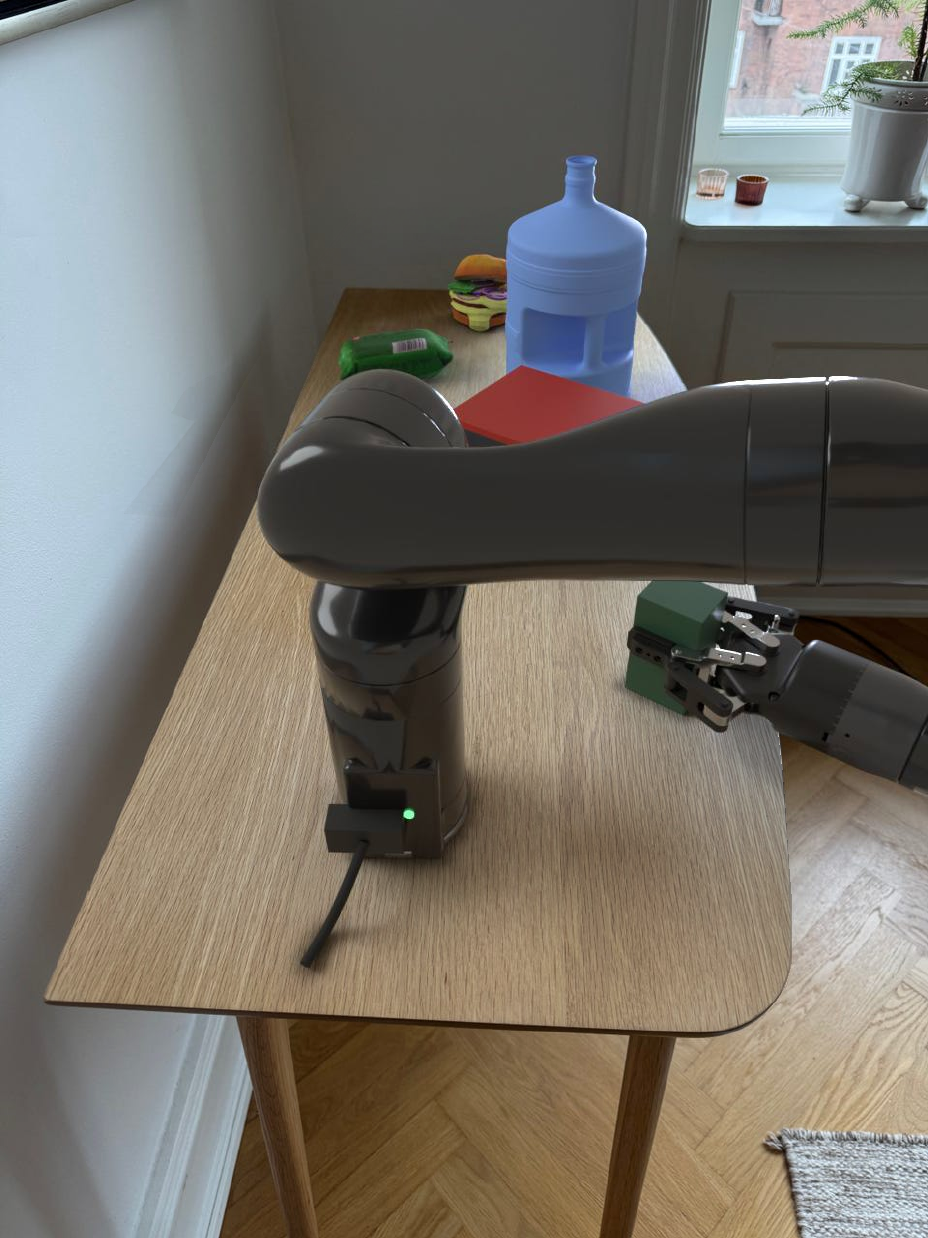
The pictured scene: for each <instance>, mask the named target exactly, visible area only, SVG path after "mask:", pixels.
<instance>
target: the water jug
mask: <svg viewBox="0 0 928 1238" xmlns="http://www.w3.org/2000/svg"><path fill="white" fill-rule="evenodd" d="M565 164H566V166H567V167H566V169H567V170H566V174H565V178H564V183H565V191H564V192H565V193H564V196H563V198H562V199H561V200H559V201H556V202H554V203H552V204H549V205H547V206H544V207H542V208H540V209H537V210H535V211H533V212H530V213H528V214H525V215H523V216H521V217H520V218H518V219H516V220H515V221H514V222H513V223H512V224H511V225H510V227H509V228H508V232H507V243H506V251H505V256H506V258H505V260H506V268H507V314H506V320H505V323H504V324H505V325H504V334H505V335H504V336H505V341H506V349H505V351H506V352H505V353H506V354H505V356H506V357H505V358H506V359H505V361H506V362H505V375H507V374H508V373H510V372H511V371H513V370H514V369H516V368H517V367H519V366H520V365H523V366H527V367H530V368H533V369H536V370H540V371H543V372H546V373H549V374H553V375H556V376H559V377H562V378H565V379H569V380H572V381H575V382H578V383H582V384H585V385H588V386H591V387H595V388H598V389H601V390H604V391H608V392H611V393H614V394H617V395H620V396H624V397H627V398H630V399H631V394H632V375H633V365H634V357H635V335H636V327H637V319H638V305H639V297H640V296H641V292H642V283H643V275H644V273H645V267H646V258H647V246H646V245H647V237H648V235H647V231H646V228H645V227H644V225H642V223H641V222H639V221H638V220H636V219H635V218H633V217H631V216H629V215H627V214H625V213H623V212H621V211H619V210H617V209H615V208H613V207H611V206H609V205H607V204H604V203H602V202H600V201H598V200H596V198H595V195H594V189H595V183H596V174H595V166H596V165H597V159H596V157H594V156H590V155H574V156H569V157H567V158H566V160H565Z"/></svg>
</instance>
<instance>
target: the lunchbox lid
mask: <svg viewBox="0 0 928 1238" xmlns="http://www.w3.org/2000/svg"><path fill="white" fill-rule="evenodd" d="M645 403H646V402H643V401H639V400H636V399H634V398H631V397H630V398H627V397H624V396H620V395H617V394H614V393H611V392H608V391H604V390H601V389H598V388H595V387H591V386H588V385H585V384H582V383H578V382H575V381H572V380H569V379H565V378H562V377H559V376H556V375H553V374H549V373H546V372H543V371H540V370H536V369H533V368H530V367H527V366H523V365H520V366H519V367H517V368H516V369H514V370H513V371H511V372H510V373H508V374H507V375H506V374H505V375H503V376H502V377H500V378H499V379H497V380H496V381H494V382H493V383H491V384H489V385H488V386H487V387H484V389H482V390H480V391H479V392H477V393H476V394H474V395H473V396H471V397H470V398H467V400H465V401H463V402H462V403H460V404H458V405H457V406H456V407H453V408H452V409H453V410H454V412H455V413H456V415H457V417H458V419H459V421H460V423H461V425H462V427H463V429H466V430H469V431H471V432H474V433H477V434H480V435H482V436H485V437H488V438H491V439H494V440H496V441H499V442H502V443H505V444H507V445H511V444H517V443H524V442H530V441H534V440H538V439H542V438H546V437H550V436H554V435H557V434H560V433H563V432H566V431H569V430H572V429H575V428H578V427H581V426H583V425H586V424H589V423H592V422H595V421H597V420H600V419H603V418H606V417H609V416H611V415H614V414H617V413H620V412H623V411H625V410H628V409H631V408H633V407H636V406H639V405H642V404H645Z"/></svg>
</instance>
